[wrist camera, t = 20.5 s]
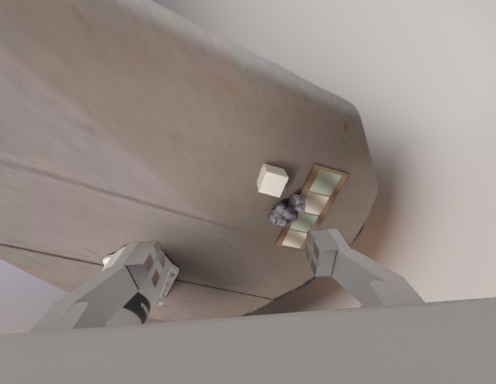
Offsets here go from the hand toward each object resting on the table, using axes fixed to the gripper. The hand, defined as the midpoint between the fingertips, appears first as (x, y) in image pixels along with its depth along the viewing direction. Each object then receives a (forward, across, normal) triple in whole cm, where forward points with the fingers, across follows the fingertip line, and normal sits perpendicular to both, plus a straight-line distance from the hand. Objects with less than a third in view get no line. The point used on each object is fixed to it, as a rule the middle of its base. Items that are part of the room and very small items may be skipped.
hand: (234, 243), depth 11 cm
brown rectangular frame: (+29, -15, +19) cm, 38 cm away
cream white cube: (+29, -6, +9) cm, 31 cm away
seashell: (+26, -14, +14) cm, 32 cm away
